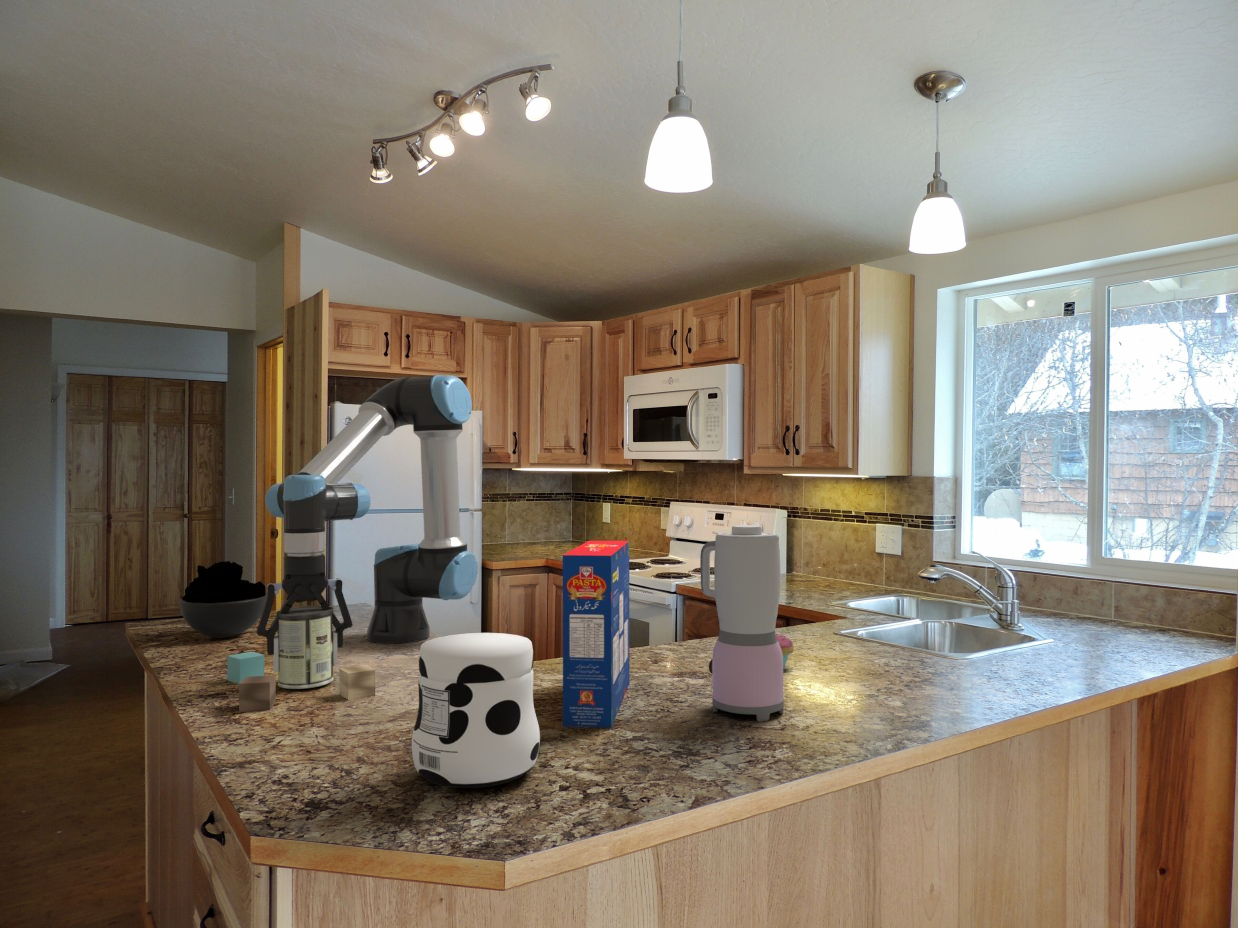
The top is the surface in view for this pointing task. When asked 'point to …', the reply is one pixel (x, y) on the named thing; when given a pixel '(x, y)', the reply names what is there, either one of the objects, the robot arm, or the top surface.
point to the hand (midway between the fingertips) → (305, 667)
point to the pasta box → (595, 632)
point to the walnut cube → (257, 693)
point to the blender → (745, 621)
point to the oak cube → (356, 682)
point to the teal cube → (244, 666)
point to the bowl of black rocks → (222, 601)
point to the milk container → (475, 710)
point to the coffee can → (305, 647)
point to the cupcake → (785, 647)
